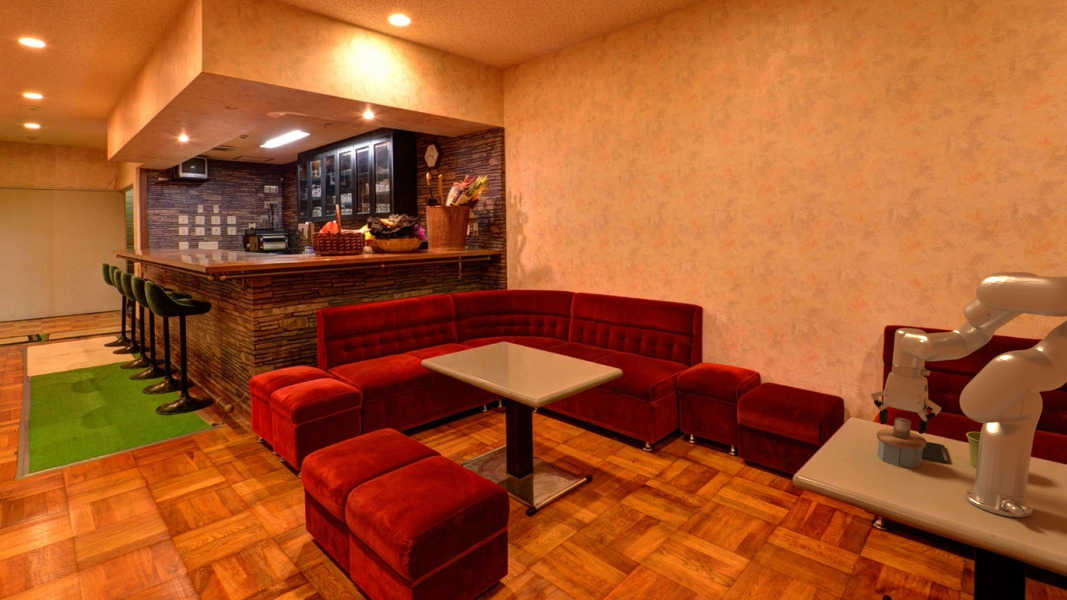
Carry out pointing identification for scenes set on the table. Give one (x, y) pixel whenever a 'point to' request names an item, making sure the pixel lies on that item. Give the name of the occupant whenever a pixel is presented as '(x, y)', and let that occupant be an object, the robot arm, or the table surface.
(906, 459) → the bowl
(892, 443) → the lid
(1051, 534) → the table surface
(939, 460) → the phone
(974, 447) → the plant pot
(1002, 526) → the table surface
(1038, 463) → the table surface
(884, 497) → the table surface
